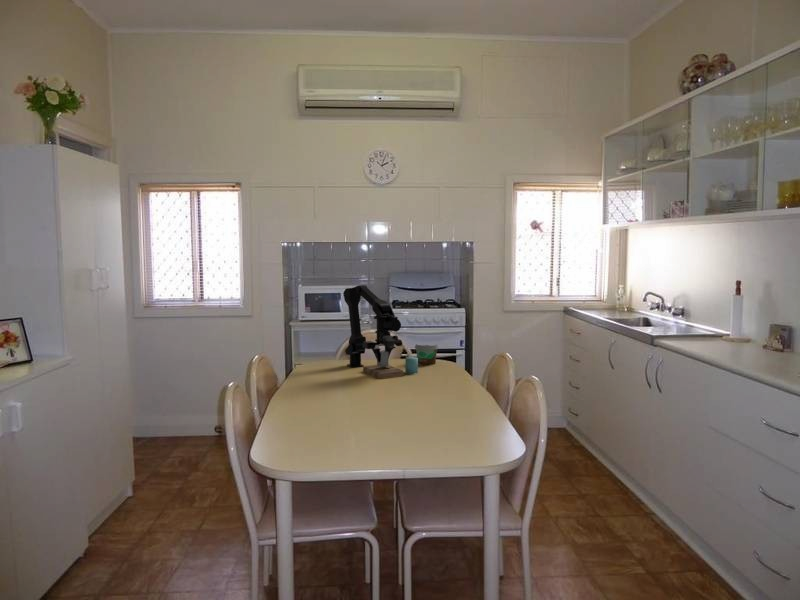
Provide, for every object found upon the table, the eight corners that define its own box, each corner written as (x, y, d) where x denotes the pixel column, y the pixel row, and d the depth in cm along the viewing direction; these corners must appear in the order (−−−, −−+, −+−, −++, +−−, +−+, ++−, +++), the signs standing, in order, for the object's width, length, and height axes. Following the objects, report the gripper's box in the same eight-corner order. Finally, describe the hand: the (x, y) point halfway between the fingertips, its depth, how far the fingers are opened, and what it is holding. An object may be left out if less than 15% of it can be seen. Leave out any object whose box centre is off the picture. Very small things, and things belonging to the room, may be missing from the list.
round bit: (403, 371, 271) (403, 357, 271) (413, 370, 275) (413, 356, 274) (409, 374, 266) (409, 360, 266) (420, 373, 269) (420, 358, 269)
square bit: (377, 365, 269) (377, 351, 268) (384, 364, 271) (384, 350, 270) (381, 367, 265) (380, 352, 265) (388, 366, 267) (388, 351, 267)
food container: (412, 364, 288) (412, 345, 288) (415, 362, 294) (415, 343, 293) (435, 366, 285) (435, 346, 284) (438, 363, 291) (438, 344, 290)
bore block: (363, 371, 273) (363, 366, 273) (384, 368, 279) (384, 363, 279) (380, 378, 258) (380, 373, 257) (403, 375, 264) (403, 370, 263)
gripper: (372, 332, 255) (372, 366, 256) (408, 329, 264) (408, 362, 266) (361, 329, 264) (362, 362, 266) (396, 326, 274) (396, 358, 275)
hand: (382, 361), depth 268 cm, fingers closed on square bit, 4 cm apart
